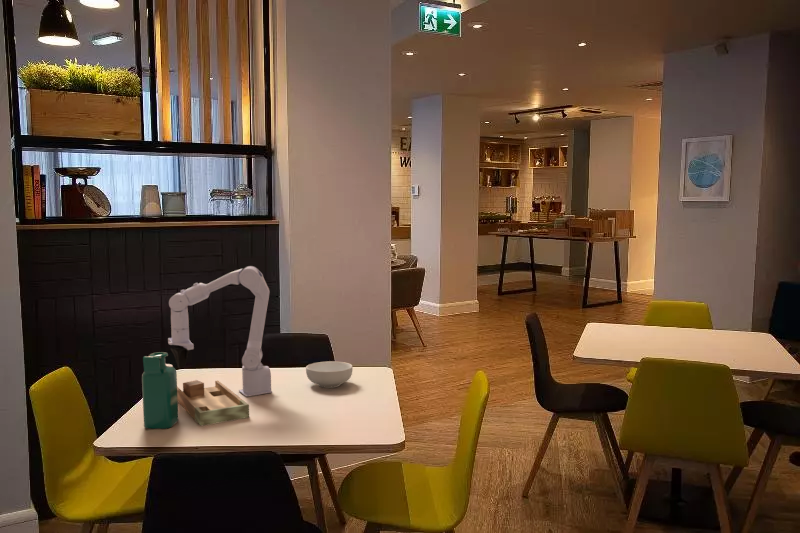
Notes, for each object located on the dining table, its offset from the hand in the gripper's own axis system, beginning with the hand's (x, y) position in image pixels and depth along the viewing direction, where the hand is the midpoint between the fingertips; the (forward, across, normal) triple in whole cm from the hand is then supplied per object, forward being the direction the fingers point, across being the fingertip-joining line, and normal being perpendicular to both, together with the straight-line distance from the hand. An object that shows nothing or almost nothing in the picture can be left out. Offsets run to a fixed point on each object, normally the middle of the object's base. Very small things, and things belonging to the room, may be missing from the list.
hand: (181, 367), depth 229 cm
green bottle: (+10, +24, -19) cm, 32 cm away
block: (+8, +8, 0) cm, 11 cm away
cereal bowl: (+10, +26, +44) cm, 52 cm away
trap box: (+10, +19, 0) cm, 21 cm away
